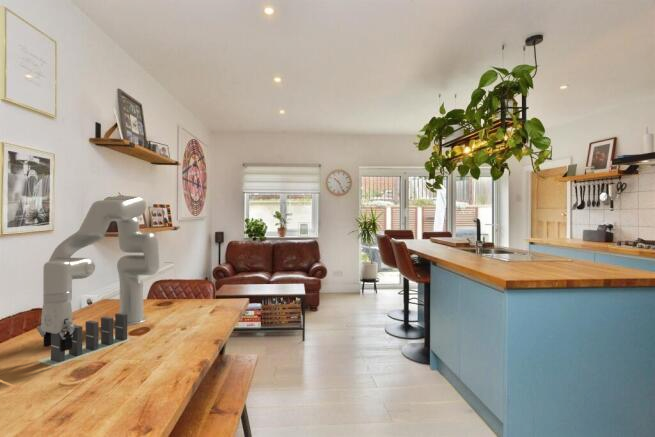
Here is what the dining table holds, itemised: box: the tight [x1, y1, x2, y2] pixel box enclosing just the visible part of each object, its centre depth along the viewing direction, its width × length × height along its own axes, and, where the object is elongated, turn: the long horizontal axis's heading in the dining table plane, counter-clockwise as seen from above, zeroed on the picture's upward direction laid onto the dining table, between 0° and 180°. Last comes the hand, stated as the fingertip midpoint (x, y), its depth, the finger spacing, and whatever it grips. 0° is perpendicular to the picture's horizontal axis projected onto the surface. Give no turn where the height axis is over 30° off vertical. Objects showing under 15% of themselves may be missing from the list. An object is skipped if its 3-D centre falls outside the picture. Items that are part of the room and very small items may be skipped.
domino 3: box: [85, 320, 100, 351], centre depth 122 cm, size 2×5×10 cm, turn 66°
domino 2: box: [68, 324, 83, 356], centre depth 117 cm, size 2×5×10 cm, turn 66°
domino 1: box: [50, 332, 66, 363], centre depth 112 cm, size 2×5×10 cm, turn 66°
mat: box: [37, 335, 132, 367], centre depth 122 cm, size 10×27×1 cm, turn 156°
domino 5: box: [114, 312, 128, 341], centre depth 132 cm, size 2×5×10 cm, turn 66°
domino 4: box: [100, 316, 115, 345], centre depth 127 cm, size 2×5×10 cm, turn 66°
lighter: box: [36, 325, 44, 338], centre depth 127 cm, size 7×2×8 cm, turn 114°
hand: (57, 347), depth 112 cm, fingers open, 9 cm apart
